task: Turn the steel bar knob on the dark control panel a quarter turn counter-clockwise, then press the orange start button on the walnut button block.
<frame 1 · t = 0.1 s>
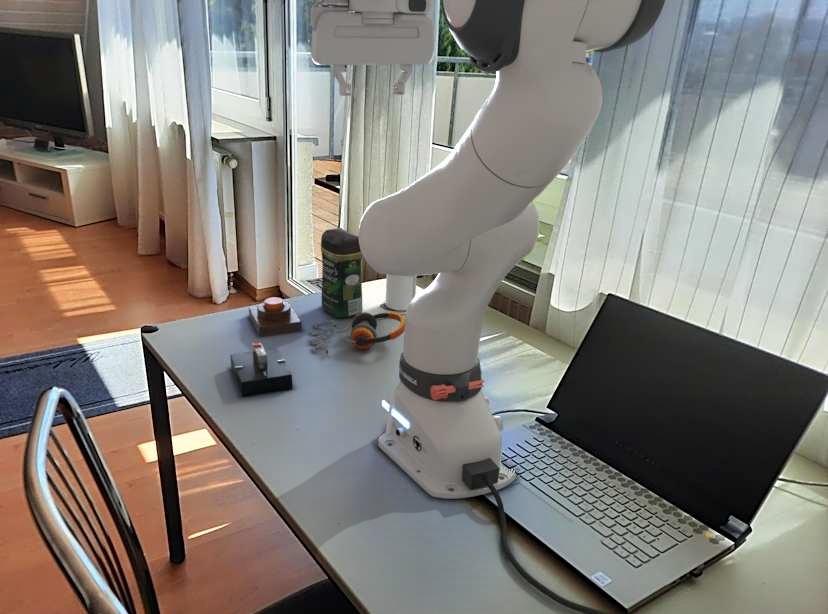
hand: (372, 95, 108), 48 cm above the table, tool pointing down, fingers open, 8 cm apart
coffee jar: (341, 311, 148), on the table
dial: (259, 356, 117), point 5 cm above the table, hinge at 0.0°
start button: (273, 304, 139), point 4 cm above the table, slide at 0.1 cm
dial panel: (261, 378, 119), on the table
button block: (274, 323, 141), on the table
headphones: (357, 342, 134), on the table
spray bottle: (400, 306, 151), on the table
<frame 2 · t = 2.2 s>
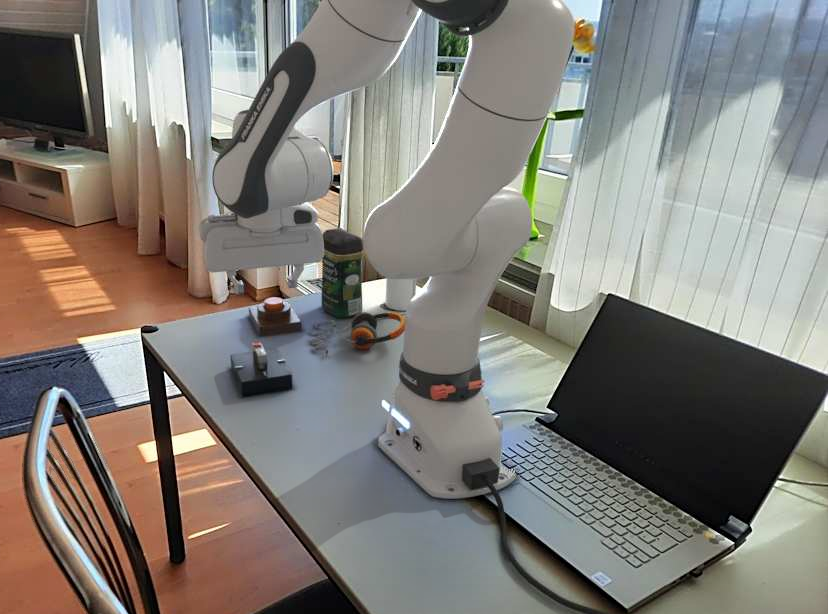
hand: (266, 289, 113), 17 cm above the table, tool pointing down, fingers open, 8 cm apart
nothing on the table moved.
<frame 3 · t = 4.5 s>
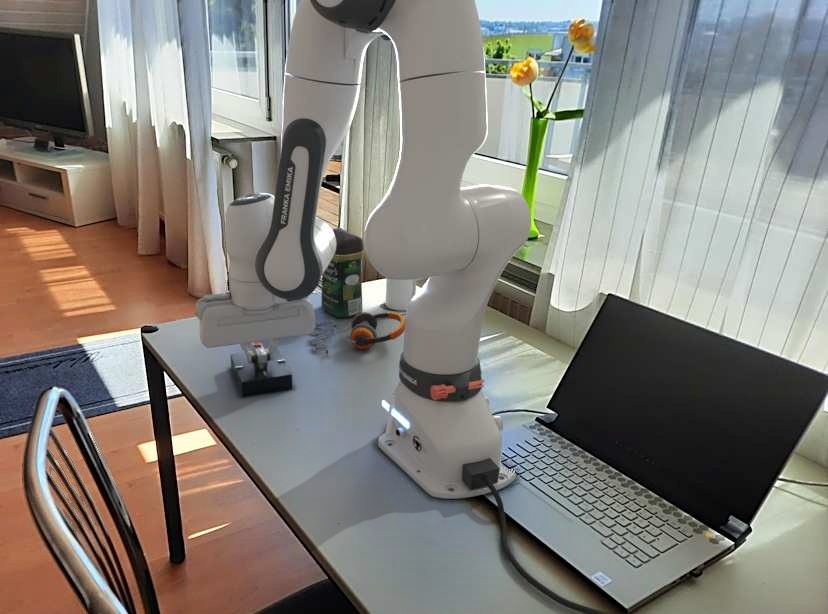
hand: (260, 360, 118), 4 cm above the table, tool pointing down, fingers closed on dial, 2 cm apart
dial: (259, 356, 117), point 5 cm above the table, hinge at -0.1°, touching gripper
everything else where it was.
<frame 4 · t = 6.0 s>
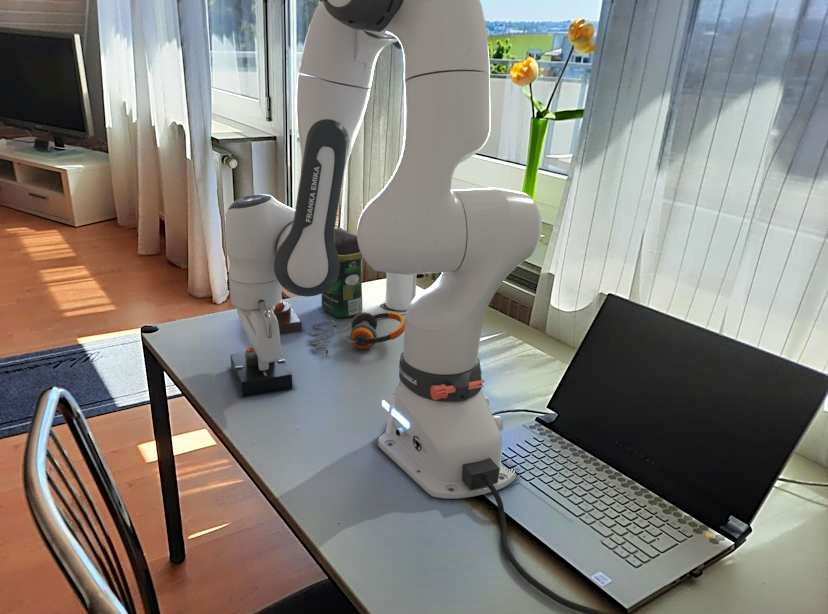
hand: (260, 362, 118), 3 cm above the table, tool pointing down, fingers open, 4 cm apart
dial: (259, 356, 117), point 5 cm above the table, hinge at 90.1°
everything else where it was.
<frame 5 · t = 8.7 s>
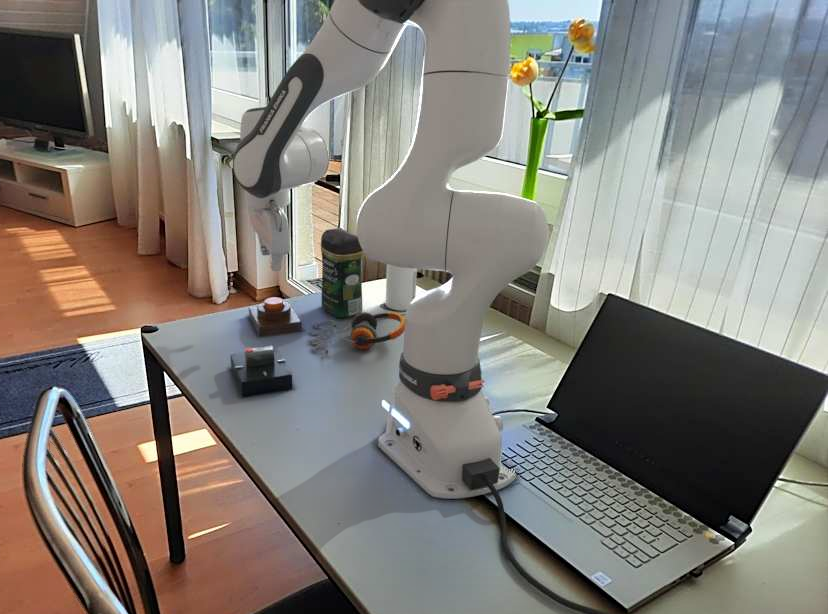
hand: (270, 261, 132), 15 cm above the table, tool pointing down, fingers open, 8 cm apart
nothing on the table moved.
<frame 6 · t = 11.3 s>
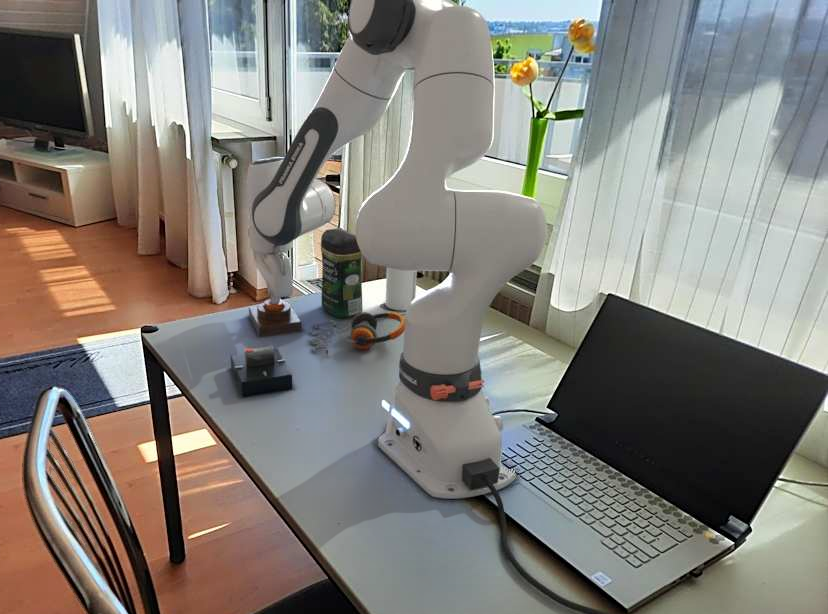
hand: (274, 301, 139), 5 cm above the table, tool pointing down, fingers closed, pressing on start button
start button: (273, 305, 139), point 4 cm above the table, slide at -0.2 cm, touching gripper
everything else where it was.
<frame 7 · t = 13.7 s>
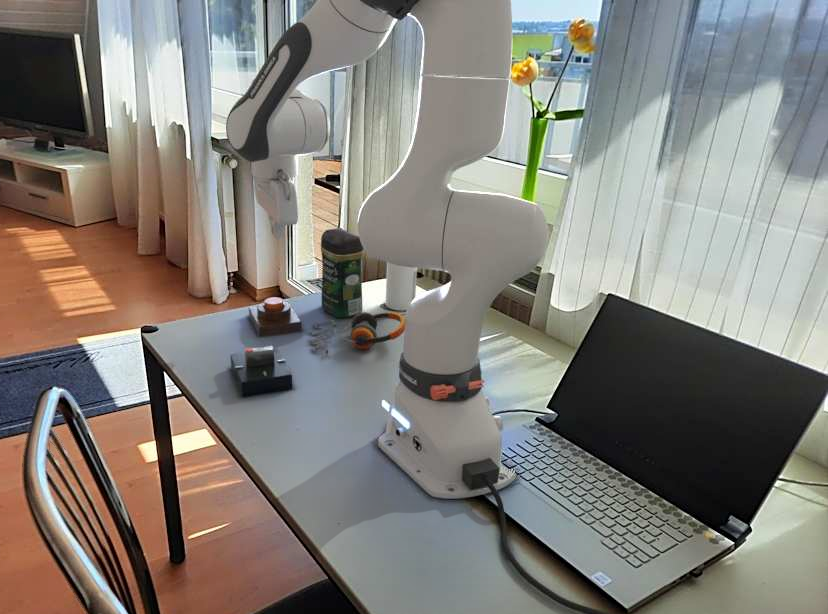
hand: (277, 236, 131), 20 cm above the table, tool pointing down, fingers closed
start button: (273, 304, 139), point 4 cm above the table, slide at 0.1 cm
everything else where it was.
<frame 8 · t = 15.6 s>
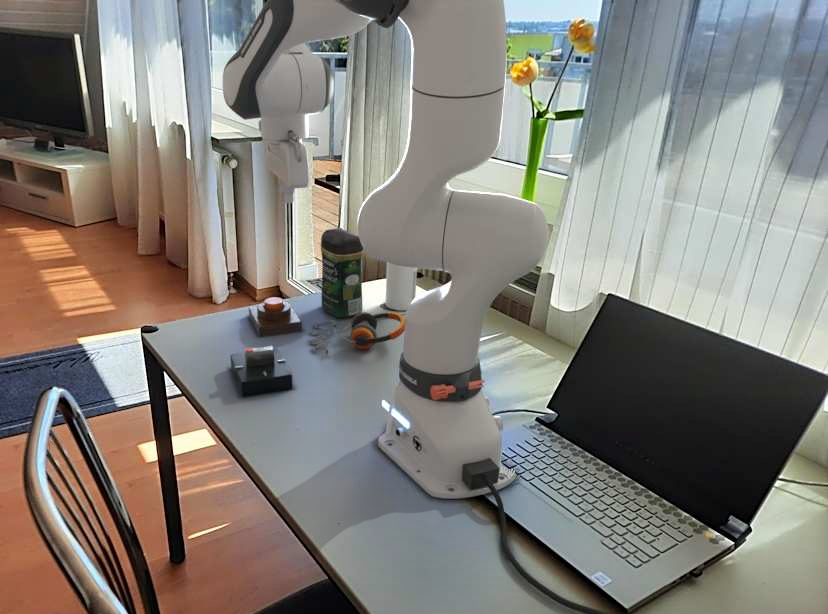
hand: (287, 201, 127), 27 cm above the table, tool pointing down, fingers closed
nothing on the table moved.
at the end: dial at +90° (first picture: +0°); start button pushed in 1.1 cm at the most during the clip, back to where it started at the end; start button slide at 0.1 cm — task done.
